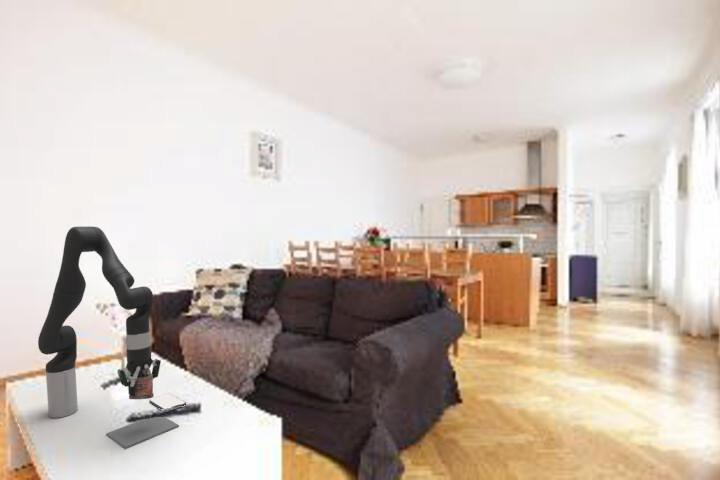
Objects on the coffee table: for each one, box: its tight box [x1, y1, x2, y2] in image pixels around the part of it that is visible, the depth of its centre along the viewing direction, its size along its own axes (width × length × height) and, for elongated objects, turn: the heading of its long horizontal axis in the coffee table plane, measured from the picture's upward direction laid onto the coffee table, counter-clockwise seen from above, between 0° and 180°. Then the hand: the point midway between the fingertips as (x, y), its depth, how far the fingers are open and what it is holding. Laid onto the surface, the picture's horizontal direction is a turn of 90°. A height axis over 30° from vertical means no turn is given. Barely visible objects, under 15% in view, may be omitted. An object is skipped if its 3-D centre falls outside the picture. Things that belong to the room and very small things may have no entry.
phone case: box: [148, 393, 187, 409], centre depth 168 cm, size 9×2×16 cm
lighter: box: [127, 368, 155, 400], centre depth 146 cm, size 8×3×10 cm, turn 92°
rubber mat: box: [105, 416, 180, 450], centre depth 147 cm, size 15×18×1 cm
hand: (141, 393), depth 146 cm, fingers closed on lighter, 5 cm apart
